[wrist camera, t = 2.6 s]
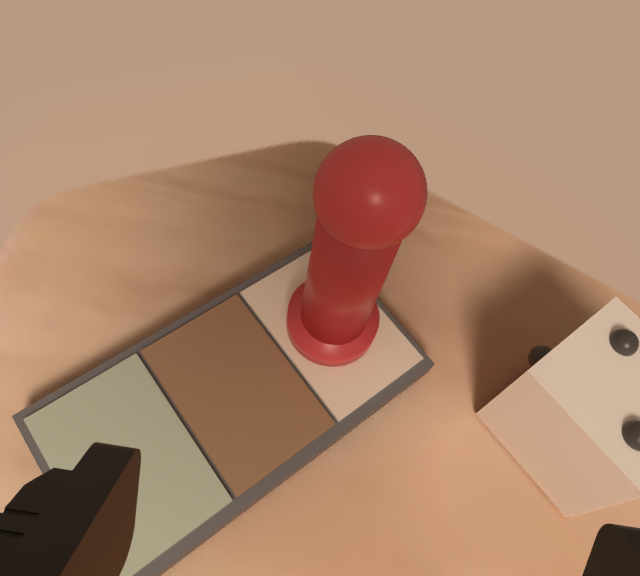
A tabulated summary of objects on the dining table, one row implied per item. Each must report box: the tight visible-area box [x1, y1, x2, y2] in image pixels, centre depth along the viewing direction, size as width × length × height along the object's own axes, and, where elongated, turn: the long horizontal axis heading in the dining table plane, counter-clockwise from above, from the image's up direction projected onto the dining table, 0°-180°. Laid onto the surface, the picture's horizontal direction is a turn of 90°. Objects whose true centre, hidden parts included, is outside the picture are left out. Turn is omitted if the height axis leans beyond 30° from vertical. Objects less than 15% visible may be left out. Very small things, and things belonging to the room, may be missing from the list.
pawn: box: [286, 135, 427, 367], centre depth 23 cm, size 4×4×12 cm
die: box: [476, 297, 640, 518], centre depth 25 cm, size 6×7×7 cm
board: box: [12, 242, 434, 576], centre depth 27 cm, size 17×9×1 cm, turn 128°
